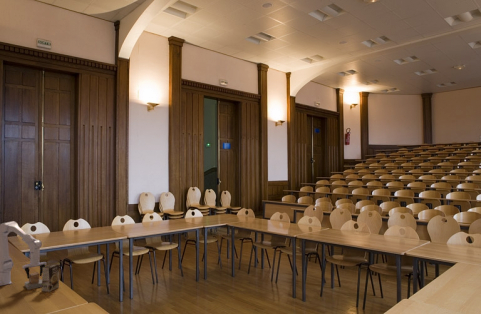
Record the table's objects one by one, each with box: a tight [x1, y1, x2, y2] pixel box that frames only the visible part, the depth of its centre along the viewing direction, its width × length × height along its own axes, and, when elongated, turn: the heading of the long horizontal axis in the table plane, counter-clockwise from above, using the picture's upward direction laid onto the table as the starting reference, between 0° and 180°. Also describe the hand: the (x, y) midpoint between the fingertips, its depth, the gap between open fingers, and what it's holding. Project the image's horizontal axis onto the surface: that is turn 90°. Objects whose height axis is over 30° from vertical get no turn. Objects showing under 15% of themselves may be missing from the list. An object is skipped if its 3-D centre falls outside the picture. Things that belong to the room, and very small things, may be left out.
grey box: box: [24, 278, 42, 291], centre depth 248 cm, size 10×10×3 cm
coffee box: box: [41, 263, 60, 293], centre depth 243 cm, size 9×6×16 cm
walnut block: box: [28, 272, 40, 284], centre depth 248 cm, size 5×5×6 cm
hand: (34, 277), depth 248 cm, fingers open, 7 cm apart
